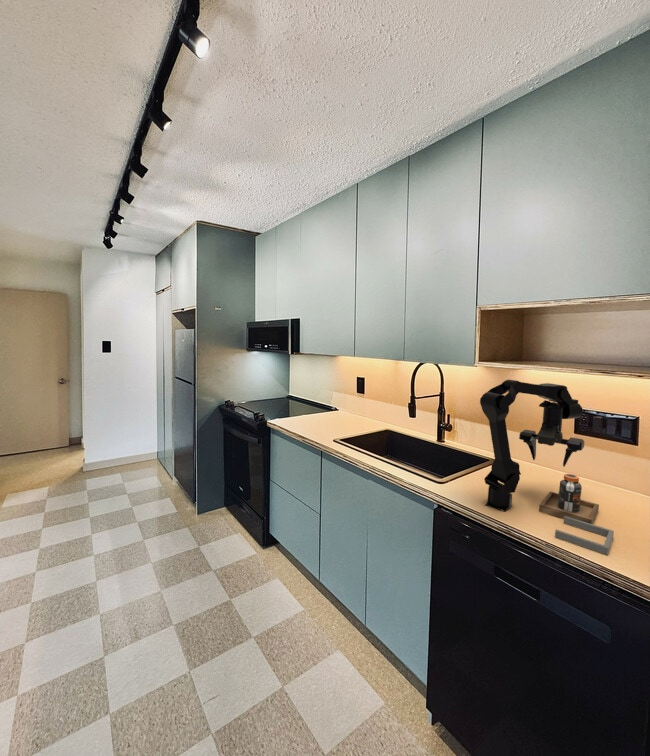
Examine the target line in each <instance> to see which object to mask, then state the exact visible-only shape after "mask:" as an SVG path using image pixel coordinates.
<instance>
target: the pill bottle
mask: <svg viewBox="0 0 650 756" xmlns="http://www.w3.org/2000/svg"><path fill="white" fill-rule="evenodd" d="M579 480H580V478H579V476H578V475H575V474H571V473H565V474H564V476H563V479H561V480H560V482H559V490H558V494H559V497H558V507H559V508H561V509H562V510H565V511H568V512H578V511H579V508H580V499H581V498H582V488H583V487H582V486H583V485H582V484H581V483H580V482H579ZM581 500H582V499H581Z"/></svg>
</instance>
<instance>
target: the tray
mask: <svg viewBox="0 0 650 756" xmlns="http://www.w3.org/2000/svg"><path fill="white" fill-rule="evenodd" d="M558 497H559V492H554V491H549V492H547V495H546V496H545V497H544V499H542V500H541V502H540V503H539V505H538V506H539V507H538V512H539V513H541V514H542V513H543V514H546V515H549V516H552V517H555V518H559V519H562V520H564V516H566V517H570V518H573V519H576V520H580V521H583V522H586V523H590V524H593V525H594V522H595V520H596V518H597V517H598V516H597V515H598V514H599V509H600V504H599V503H595V502H591V501H587V500H584V499H580V508H579V511H578V512H568V511H565V510H562V509H561V508H559V507H558Z"/></svg>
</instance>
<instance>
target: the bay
mask: <svg viewBox="0 0 650 756" xmlns="http://www.w3.org/2000/svg"><path fill="white" fill-rule="evenodd" d="M564 524H565V525H568V526H571V527H575V528H577V529H580V530H584V531H588V532H589V533H594V534H596V535H600V536H603V537H606V538H605V541H604V544H603V543H598V542H595V541H592V540H590V539H586V538H583V537H581V536H577V535H575V534H572V533H568V532H565V531H562V530H559V529H555V532H554V538H555V537H556V538H555V539H559V540H561V539H562V540H561V541H564V540H565V541H564V542H567V541H568V543H570V544H573V545H575V546H579V547H582V548H585V549H588V550H590V551H594V552H597V553H599V554H602V555H605V556H608V554H609V552H610V548H611V545H612V542H613V539H614V534H615V533H614V532H615V530H613V529H609V528H606V527H603V526H600V525H596V524H594V523H593V524H590V523H586V522H583V521H580V520H576V519H573V518H570V517H566V516H564V519H563V525H564Z"/></svg>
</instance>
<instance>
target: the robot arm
mask: <svg viewBox="0 0 650 756" xmlns="http://www.w3.org/2000/svg"><path fill="white" fill-rule="evenodd" d="M518 394H526V395H531V396H538V397H539V398H542V399H544V400H543V401H542V402H540V404H539V405H538V407H540V408H543V411H542V422H541V426H540V429H539V431H538V433H537V432H536V430H531V429H530V430H529V429H524V430H522V431H521V432H520V433H519V434H518V435H519V437H518V439H519V440H522V442H523V443H525V444H526V445H527V446H528V448H529V450H530V455H531V458H532V460H533V461H535V460H536V456H537V444H539V445H547V446H551V447H552V446H554V445H555V444H560V445H564V446H566V448H565V453H564V458H563V463H562V466H563V468H564V467H566V465H567V463H568V461H569V460H570V458H571V456H572V455H573V453H577V452H578V451H581V452H582V450H583V449H584V448H585V440H584V439H583V438H577V437H572V436H571V437H570V438H568V439H566V438H563V432H562V427H563V420H572V419H580V418H581V417H582V416H583V413H584V409H583V406H581V404H580V403H579V399H574V398H572V396H571V394H570V392H569V390H568V387H567V386H566V385H564V384H557V383H556V384H555V383H549V382H546V383H539V384H536V383H527V382H524V381H523V382H522V381H519V380H514V379H506V380H504V381H502V382H501V383H500V384H498V385H496V386H494V387H492V388H490V389H489V390H488V391H487V392H486V391H485V392H484V393H483V394H482V396H481V397H480V400H479V404H480V406H481V410H482V412H483V414H484V415H485V417H486V418H487V419H488V424H489V431H490V436H491V443H492V448H493V457H494V460H493V461H492V463H491V470H490V471H489V473H488V474H486V476H485V477H484V479H483V480H484V482H485V485H488V490H487V491H488V493H487V502H486V503H485V506H488V507H490V508H493V509H496V510H500V511H503V512H507V510H509V509H510V508H511V507H512V506H513V505H512V504H513V493H515V492H516V490H517V487H518V484H519V481H520V478H521V477H520V475H522V473H521V470H520V464H519V463H520V462H519V463H518V462H516V461H515V460H512V456H511V450H510V449H511V448H510V443H509V442H510V441H509V437H508V435H509V434H508V430H507V422H506V418H507V416H508V415H509V412H510V406H511V405H512V404H513V403H514V402H515V400H516V398H517V395H518Z"/></svg>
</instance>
